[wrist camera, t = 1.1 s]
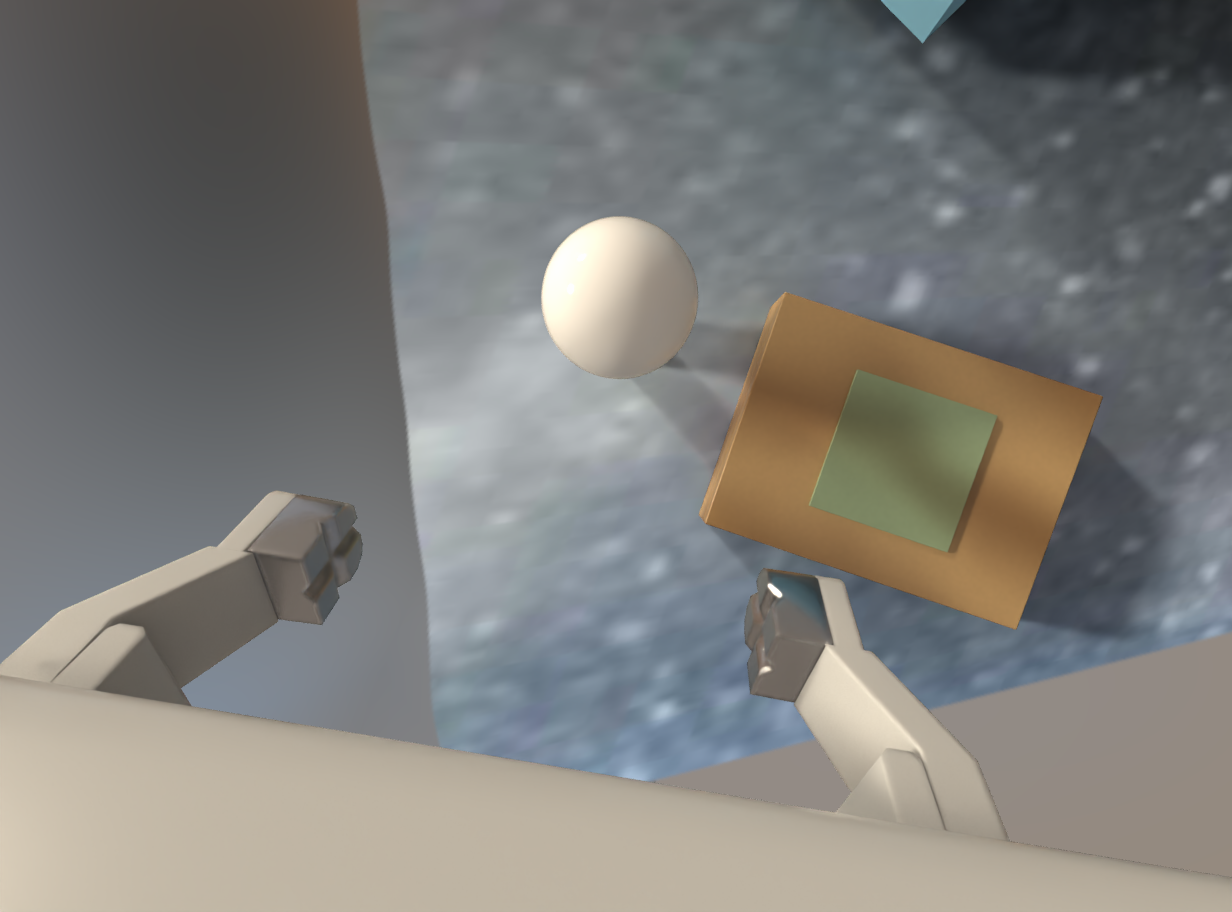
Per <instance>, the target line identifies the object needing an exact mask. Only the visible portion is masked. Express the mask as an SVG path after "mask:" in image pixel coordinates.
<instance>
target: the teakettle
mask: <svg viewBox="0 0 1232 912" xmlns="http://www.w3.org/2000/svg"><path fill="white" fill-rule="evenodd" d="M881 1H882V2H883V3H884V4H885V6H886V7H887V8H888V9H889V10H890V11H891V12H892V13H893V14H894V15H895V16H896V17H897V18H898V19H899V20H900V21H901V22H902V23H903V24H904V25H905V26H906V27H907V28H908V29H909V30H910V31H911V32H912V33H913V34H914V35H915V36H916V37H917V38H918V39H919V40H920V41H921V42H922V43H923V42H924V41H925V40H926V39H927V38H928V37H929V36H930V35H931V34H932V33H934V32H935V31H936V30H937V29H938V28H939V27H940V26H941V25H942V24H943V23H944V22H945V21H946V20H947V19H948V18H949V17H950V16H951V15H952V14H953V13H954V12H955V11H956V10H957V9H958V8H959V7H960V6H961V5H962V4H963V3H964V2H965V1H966V0H881Z"/></svg>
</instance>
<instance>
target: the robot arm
mask: <svg viewBox="0 0 1232 912" xmlns="http://www.w3.org/2000/svg"><path fill="white" fill-rule="evenodd" d="M356 519H357V515H356V511H355V507H354V506H353V505H351V504H349V503H344V502H338V501H333V500H328V499H322V498H317V497H311V496H306V495H297V494H292V493H286V492H281V491H274V492H272V493H269V494H268V495H266V496H265V498H263V500H262V501H261V502H260V503H259V504H258V505H257V506H256V507H255V508H254V509H253V510H252V511H251V512H250V513H249V514H248V515H247V516H246V517H245V519H243V520H242V522H241V523H240V524H239V525H238V526H237V527H236V528H235V529H234V530H233V531H232V532H231V533H230V534H229V535H228V536H227V537H226V538H225V539H224V540H223V542H221V544H220V545H219V546H218V547H212V546H208V547H206V548H204V549H201V550H199V551H197V552H195V553H192V554H190V555H188V556H185V557H183V558H181V559H178V560H176V561H174V562H172V563H169V564H167V565H165V566H162V567H160V568H158V569H156V570H153V571H151V572H149V573H146V574H144V575H142V576H139V577H137V578H135V579H133V580H130V581H128V582H126V583H123V584H121V585H119V586H116V587H114V588H112V589H109V590H107V591H105V592H103V593H100V594H98V595H96V596H93V597H91V598H89V599H86V600H84V601H82V602H80V603H77V604H75V605H73V606H70V607H68V608H66V609H64V610H61V611H60V612H59V613H58V614H56V615H55V616H54V617H53V618H52V619H51V620H50V621H48V622H47V623H46V624H45V625H44V626H43V627H42V628H41V629H39V630H38V631H37V632H36V633H35V634H34V635H33V636H32V637H30V638H29V639H28V640H27V641H26V642H25V643H24V644H22V645H21V646H20V647H19V648H18V649H17V650H16V651H15V652H13V654H11V655H10V656H9V657H8V658H7V659H6V660H4V661H3V662H2V663H1V664H0V912H1232V877H1227V876H1221V875H1214V874H1208V873H1201V872H1194V871H1188V870H1182V869H1176V868H1170V867H1164V866H1158V865H1152V864H1146V863H1140V862H1134V861H1127V860H1121V859H1115V858H1109V857H1103V856H1097V855H1091V854H1085V853H1079V852H1073V851H1067V850H1061V849H1055V848H1048V847H1042V846H1036V845H1030V844H1024V843H1018V842H1012V841H1010V840H1009V837H1008V835H1007V832H1006V830H1005V828H1004V825H1003V822H1002V820H1001V818H1000V815H999V813H998V810H997V808H996V805H995V803H994V800H993V798H992V795H991V793H990V790H989V788H988V786H987V783H986V781H985V778H984V776H983V773H982V771H981V768H980V766H979V763H978V761H977V760H976V759H975V758H974V757H973V756H972V755H971V754H970V752H969V751H968V750H967V749H966V748H965V747H964V746H963V745H962V744H961V743H960V742H959V741H958V740H957V739H956V738H955V737H954V736H953V735H952V734H951V733H950V732H949V731H948V730H947V729H946V728H945V727H944V726H943V725H942V724H941V722H940V721H939V720H938V719H936V717H935V716H934V715H933V714H932V713H931V712H930V711H929V710H928V709H927V708H926V707H925V706H924V705H923V704H922V703H921V702H920V701H919V700H918V699H917V698H916V697H915V696H914V695H913V694H912V692H911V691H910V690H909V689H908V688H907V687H906V686H905V685H904V684H903V683H902V682H901V681H900V680H899V679H898V678H897V677H896V676H895V675H894V674H893V673H892V672H891V671H890V670H889V669H888V668H887V667H886V666H885V665H884V664H883V662H882V661H881V660H880V659H879V658H878V657H877V656H876V655H875V654H874V653H873V652H871V651H865V650H864V648H863V644H862V641H861V638H860V634H859V631H858V628H857V624H856V621H855V618H854V614H853V611H852V608H851V604H850V601H849V598H848V594H847V591H846V587H845V584H844V583H843V582H842V580H841V579H835V578H828V577H821V576H812V575H807V574H800V573H794V572H787V571H780V570H773V569H766V568H763V569H762V570H761V572H760V573H759V576H758V578H757V581H756V582H757V591H758V592H757V593H755V594H754V595H752V596H750V599H749V602H748V605H747V609H746V615H745V621H744V634H745V644H746V645H747V646H748V647H749V649H750V650H751V651H752V652H751V655H750V657H749V660H748V662H747V668H748V677H749V687H750V694H752V695H758V696H763V697H768V698H773V699H779V700H784V701H789V702H795V703H794V706H795V707H796V709H797V710H798V712H799V713H800V715H801V716H802V718H803V719H804V721H805V722H806V724H807V726H808V727H809V729H810V730H811V732H812V733H813V735H814V736H815V738H816V739H817V741H818V742H819V744H820V745H821V747H822V749H823V750H824V752H825V753H826V755H827V756H828V758H829V759H830V761H831V762H832V764H833V766H834V767H835V768H836V770H837V772H838V773H839V775H840V776H841V778H842V779H843V781H844V782H845V784H846V786H847V787H848V789H849V790H850V792H851V794H850V795H849V796H848V797H847V799H846V800H845V801H844V803H843V804H842V805H841V806H840V807H839V809H838V810H837V811H836V812H829V811H823V810H817V809H810V808H805V807H799V806H792V805H786V804H780V803H774V802H768V801H762V800H756V799H750V798H744V797H738V796H731V795H726V794H720V793H714V792H707V791H701V790H695V789H689V788H683V787H677V786H671V785H664V784H659V783H653V782H647V781H641V780H635V779H628V778H622V777H616V776H610V775H604V774H598V773H592V772H586V771H580V770H574V769H568V768H562V767H556V766H550V765H544V764H538V763H532V762H526V761H520V760H514V759H508V758H502V757H496V756H490V755H484V754H478V753H472V752H466V751H460V750H453V749H447V748H441V747H435V746H429V745H423V744H417V743H411V742H405V741H399V740H393V739H387V738H380V737H375V736H369V735H363V734H356V733H350V732H344V731H338V730H332V729H326V728H320V727H314V726H308V725H302V724H296V723H289V722H284V721H277V720H271V719H266V718H259V717H253V716H247V715H241V714H235V713H229V712H223V711H217V710H210V709H205V708H199V707H193V706H191V704H190V703H189V701H188V700H187V698H186V696H185V695H184V693H183V691H182V690H181V688H182V687H183V686H185V685H186V684H187V683H189V682H191V681H192V680H193V679H195V678H196V677H198V676H199V675H201V674H202V673H204V672H205V671H207V670H208V669H210V668H211V667H213V666H214V665H215V664H217V663H218V662H220V661H221V660H223V659H224V658H226V657H227V656H229V655H230V654H231V653H233V652H234V651H236V650H237V649H239V648H240V647H242V646H243V645H245V644H246V643H248V642H249V641H251V640H252V639H253V638H255V637H256V636H258V635H259V634H261V633H262V632H264V631H265V630H266V629H268V628H269V627H271V626H272V625H274V624H275V623H277V622H278V619H281V620H288V621H296V622H303V623H311V624H318V625H322V624H323V622H324V621H325V619H326V618H327V616H328V615H329V613H330V612H331V610H332V609H333V607H334V605H335V604H336V602H337V601H338V599H339V594H338V589H337V588H338V587H340V586H341V585H343V584H345V583H347V582H348V581H350V580H351V579H352V577H353V575H354V574H355V572H356V570H357V569H358V566H359V563H360V560H361V556H362V545H363V543H362V539H361V534H359V532H358V531H357V530H356V529H355V528H354V527H353V526H352V525H353V524H354V522H355V521H356Z"/></svg>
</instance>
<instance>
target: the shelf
mask: <svg viewBox="0 0 1232 912" xmlns="http://www.w3.org/2000/svg"><path fill="white" fill-rule="evenodd" d="M1102 398H1103V396H1100V395H1097V394H1094V393H1091V392H1088V391H1085V390H1082V389H1079V388H1076V387H1073V386H1070V385H1067V384H1064V383H1061V382H1058V381H1055V380H1051V379H1048V378H1045V377H1042V376H1039V375H1036V374H1033V373H1030V372H1027V371H1024V370H1021V369H1018V368H1015V367H1012V366H1009V365H1006V364H1003V363H1000V362H997V361H994V360H991V359H988V358H985V357H981V356H978V355H975V354H972V353H969V352H966V351H963V350H960V349H957V348H954V347H951V346H948V345H945V344H942V343H939V342H936V341H933V340H930V339H927V338H924V337H921V336H918V335H915V334H911V333H908V332H905V331H902V330H899V329H896V328H893V327H890V326H887V325H884V324H881V323H878V322H875V321H872V320H869V319H866V318H863V317H860V316H857V315H854V314H851V313H848V312H845V311H841V310H838V309H835V308H832V307H829V306H826V305H823V304H820V303H817V302H814V301H811V300H808V299H805V298H802V297H799V296H796V295H793V294H790V293H787V292H785V293H784V294H783V295H782V296H781V297H780V298H779V299H778V300H777V301H776V302H775V303H774V304H773V305H772V306H771V308H770V311H769V314H768V317H767V319H766V322H765V325H764V328H763V331H762V334H761V337H760V340H759V343H758V345H757V348H756V351H755V354H754V357H753V360H752V363H751V366H750V369H749V371H748V374H747V377H746V380H745V383H744V386H743V389H742V392H741V394H740V397H739V400H738V403H737V406H736V409H735V412H734V415H733V418H732V420H731V423H730V426H729V429H728V432H727V435H726V438H725V441H724V444H723V446H722V449H721V452H720V455H719V458H718V461H717V464H716V467H715V469H714V472H713V475H712V478H711V481H710V484H709V487H708V490H707V493H706V495H705V498H704V501H703V504H702V507H701V510H700V513H699V516H700V517H701V518H702V520H703V521H704V522H705V523H706V524H708V525H711V526H714V527H717V528H720V529H723V530H726V531H729V532H732V533H734V534H737V535H740V536H743V537H746V538H749V539H752V540H755V541H758V542H761V543H764V544H767V545H769V546H772V547H775V548H778V549H781V550H784V551H787V552H790V553H793V554H796V555H799V556H802V557H805V558H807V559H810V560H813V561H816V562H819V563H822V564H825V565H828V566H831V567H834V568H837V569H840V570H842V571H845V572H848V573H851V574H854V575H857V576H860V577H863V578H866V579H869V580H872V581H875V582H878V583H880V584H883V585H886V586H889V587H892V588H895V589H898V590H901V591H904V592H907V593H910V594H913V595H915V596H918V597H921V598H924V599H927V600H930V601H933V602H936V603H939V604H942V605H945V606H948V607H950V608H953V609H956V610H959V611H962V612H965V613H968V614H971V615H974V616H977V617H980V618H983V619H986V620H988V621H991V622H994V623H997V624H1000V625H1003V626H1006V627H1009V628H1012V629H1017V627H1018V624H1019V621H1020V619H1021V616H1022V613H1023V611H1024V608H1025V605H1026V603H1027V600H1028V597H1029V594H1030V592H1031V589H1032V586H1033V584H1034V581H1035V578H1036V576H1037V573H1038V570H1039V568H1040V565H1041V562H1042V560H1043V557H1044V554H1045V552H1046V549H1047V546H1048V543H1049V541H1050V538H1051V535H1052V533H1053V530H1054V527H1055V525H1056V522H1057V519H1058V517H1059V514H1060V511H1061V509H1062V506H1063V503H1064V501H1065V498H1066V495H1067V492H1068V490H1069V487H1070V484H1071V482H1072V479H1073V476H1074V474H1075V471H1076V468H1077V466H1078V463H1079V460H1080V458H1081V455H1082V452H1083V450H1084V447H1085V444H1086V441H1087V439H1088V436H1089V433H1090V431H1091V428H1092V425H1093V423H1094V420H1095V417H1096V415H1097V412H1098V409H1099V407H1100V404H1101V401H1102Z"/></svg>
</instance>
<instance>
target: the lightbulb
mask: <svg viewBox="0 0 1232 912" xmlns="http://www.w3.org/2000/svg"><path fill="white" fill-rule="evenodd" d="M541 304H542V312H543V317H544V321H545V324H546V327H547V330H548V332H549V334H550V336H551V338H552V340H553V341H554V343H555V344H556V346H557V347H558V349H559V350H560V351H561V352H562V353H563V354H564V355H565V356H566V357H567V358H568V359H569V360H570V361H571V362H572V363H574V364H575V365H576V366H578V367H579V368H581V369H583V370H585V371H587V372H589V373H591V374H594V375H597V376H600V377H604V378H610V379H629V378H635V377H639V376H643V375H646V374H648V373H651V372H653V371H655V370H657V369H658V368H660V367H661V366H663V365H664V364H666V363H667V362H668V361H670V360H671V359H672V358H673V357H674V356H675V355H676V354H677V353H678V351H679V350H680V349H681V348H682V346H683V345H684V343H685V342H686V340H687V339H688V337H689V335H690V333H691V330H692V328H693V325H694V322H695V318H696V314H697V308H698V287H697V280H696V276H695V273H694V270H693V267H692V265H691V262H690V260H689V258H688V257H687V255H686V253H685V252H684V250H683V249H682V248H681V246H680V245H679V244H678V243H677V242H676V241H675V240H674V238H672V237H671V236H670V235H669V234H668V233H667V232H665V231H664V230H662V229H661V228H659V227H658V226H656V225H654V224H652V223H650V222H647V221H644V220H641V219H637V218H633V217H625V216H615V217H607V218H602V219H598V220H595V221H592V222H590V223H588V224H586V225H584V226H582V227H580V228H579V229H577V230H576V231H574V232H573V233H572V234H571V235H569V236H568V237H567V238H566V239H565V240H564V241H563V242H562V244H561V245H560V246H559V247H558V249H557V250H556V251H555V253H554V254H553V256H552V258H551V260H550V262H549V264H548V267H547V269H546V272H545V275H544V279H543V284H542V293H541Z"/></svg>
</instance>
